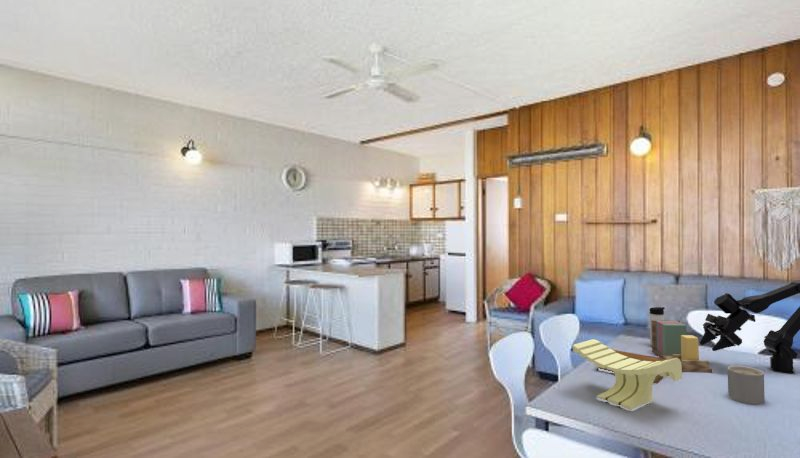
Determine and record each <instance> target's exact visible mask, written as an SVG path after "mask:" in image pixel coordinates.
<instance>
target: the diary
mask: <svg viewBox="0 0 800 458" xmlns="http://www.w3.org/2000/svg"><path fill="white" fill-rule="evenodd" d="M613 350H614V351H616V353H619V354H621V355H624V356H627V357H628V358H633V359H637V360H641V361H653V362H656V361H664V360H669V359H663V358H660V357H658V356H657V357H656V356H652V355H645V354H640V353H633V352H629V351H622V350H617V349H613ZM598 368H600V369H604V370H608V369H607V368H601V367H598ZM608 371H612V370H608ZM612 372H613V371H612ZM663 378H664V377H663V376H660V375H657V376H656V377H655V379H654V383H653V384H658V383H659V382H661V380H662V379H663Z"/></svg>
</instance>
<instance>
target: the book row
mask: <svg viewBox="0 0 800 458" xmlns="http://www.w3.org/2000/svg"><path fill="white" fill-rule="evenodd" d="M681 335H688V334H687V325H686V324H685V323H684V324H683V323H682V322H681V321H680V322H678V321H656V341H657V350H658V351H659V352H661V353H662V354H664V355H665V356H672V354H681Z"/></svg>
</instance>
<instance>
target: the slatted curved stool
mask: <svg viewBox="0 0 800 458" xmlns="http://www.w3.org/2000/svg"><path fill="white" fill-rule="evenodd" d="M614 350H615V349H611V348H610V347H609V346H607V345H605V344H603V343H602V341H599V340H598V339H594V338H592V339H589V340H586V341H580V342H578V343H575V344H573V345H572V353H575V354H579V357H581V358H586V361H587V362H589V363H593V366H594V367H597V368H599V367H601V368H607V369H608V370H612V371H613V372H614V374H613V375H614V376H615V383H614V385H613V386H612V387H611V388H609V389H608V390H606V391H604V392H601V393H600V394H597V396H596V398H600V399H603V400H607V401H608V402H611V403H613V404H616V405H621V406H622V407H624V408H627V409H629V410H632V409H634V408H636V407H638V406H641V405H643V404H646V403H648V402H651V401H652V402H653V385H654V383H653V382H654V379H655V377H656V376H657V375H660V376H663V378H669V379H670V380H672V381H675V382H677V381H679V380H681V379H683V375H682V374H683V372H682V365H681V361H680V359H679V358H673V359H671V360H664V361H656V362H653V361H641V360H637V359H633V358H628V357H627V356H624V355H621V354H619V353H616V351H614Z"/></svg>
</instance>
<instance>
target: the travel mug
mask: <svg viewBox="0 0 800 458" xmlns="http://www.w3.org/2000/svg"><path fill="white" fill-rule="evenodd" d="M665 310H666V309H665V307H661V306H659V307H658V306H657V307H656V306H654V307H650V308H649V340H650V341H649V345H650V347H651V348H652V328H651V320H665Z"/></svg>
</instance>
